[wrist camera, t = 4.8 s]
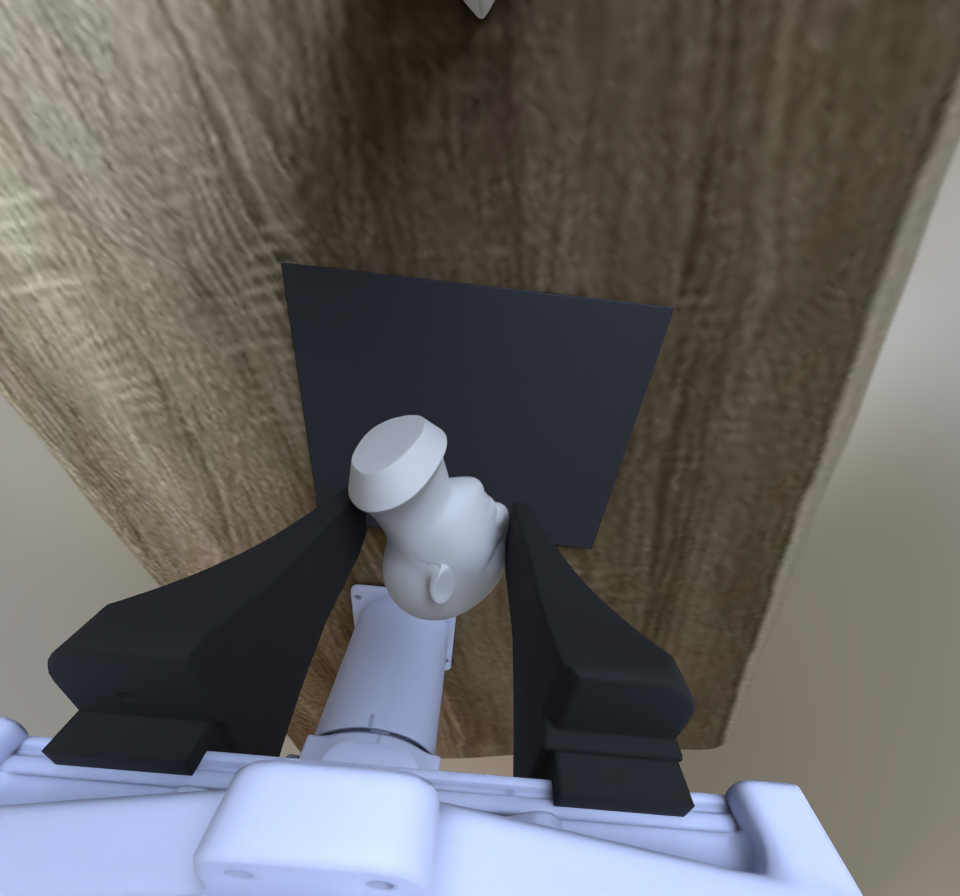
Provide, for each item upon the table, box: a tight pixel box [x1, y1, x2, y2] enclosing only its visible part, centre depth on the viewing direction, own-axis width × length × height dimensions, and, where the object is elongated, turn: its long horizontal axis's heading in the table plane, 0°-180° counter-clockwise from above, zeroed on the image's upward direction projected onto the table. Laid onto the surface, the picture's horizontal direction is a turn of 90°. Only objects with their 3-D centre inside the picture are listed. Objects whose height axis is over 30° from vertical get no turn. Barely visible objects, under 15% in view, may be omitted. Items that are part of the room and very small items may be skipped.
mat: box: [281, 263, 674, 549], centre depth 19 cm, size 15×18×1 cm
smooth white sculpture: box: [348, 415, 509, 621], centre depth 12 cm, size 4×8×5 cm
